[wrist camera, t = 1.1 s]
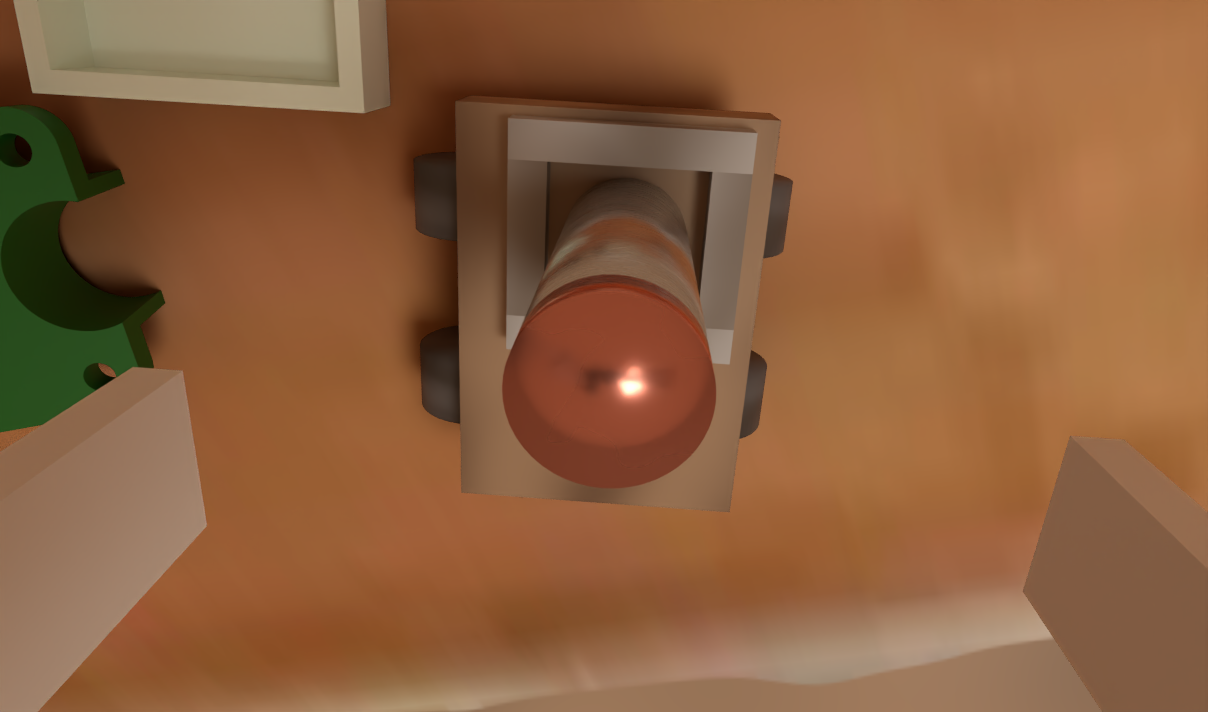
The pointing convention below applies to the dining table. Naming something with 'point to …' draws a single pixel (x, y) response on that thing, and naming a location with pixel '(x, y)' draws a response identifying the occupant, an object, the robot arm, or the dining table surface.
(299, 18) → the tray
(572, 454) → the pin
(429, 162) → the trolley
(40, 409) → the clamp
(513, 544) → the dining table surface
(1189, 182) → the dining table surface
